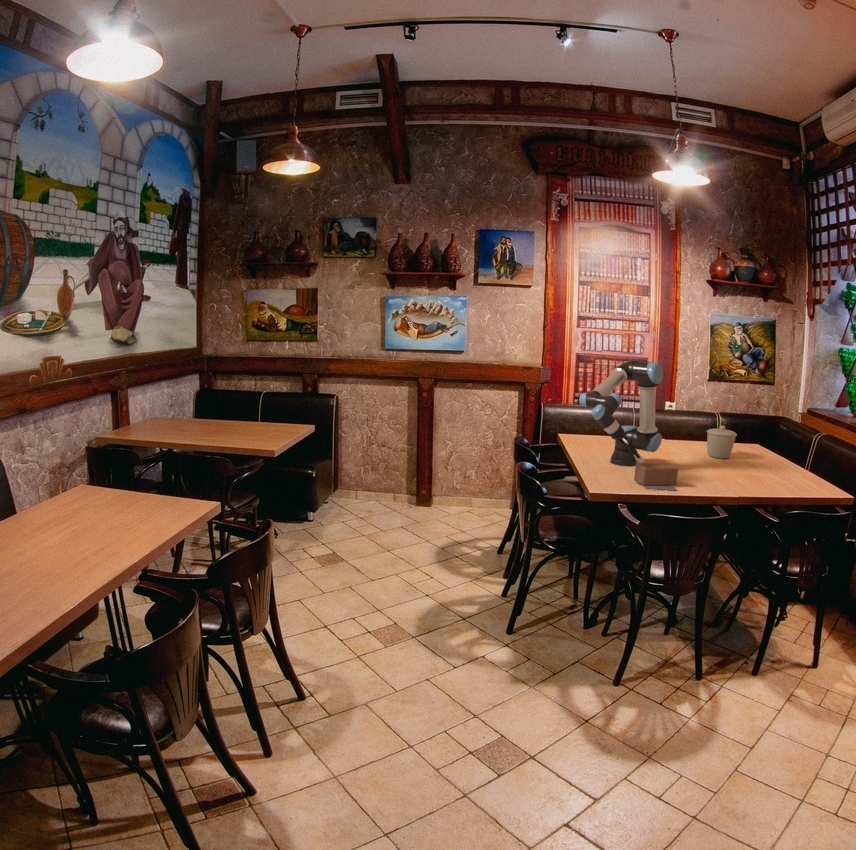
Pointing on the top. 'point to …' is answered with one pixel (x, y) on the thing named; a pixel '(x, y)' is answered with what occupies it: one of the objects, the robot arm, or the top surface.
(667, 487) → the mat
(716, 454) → the canister
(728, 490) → the top surface
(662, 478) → the wooden block
